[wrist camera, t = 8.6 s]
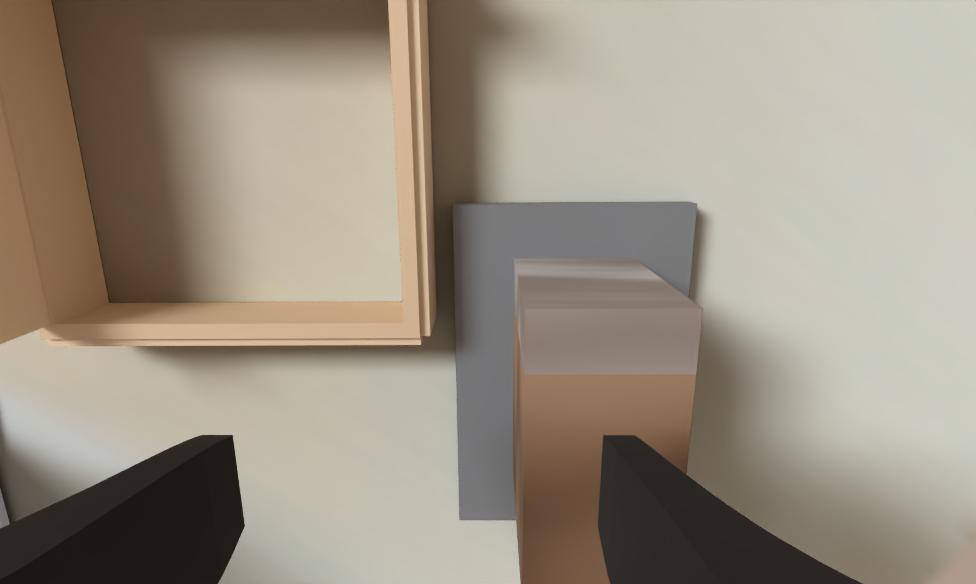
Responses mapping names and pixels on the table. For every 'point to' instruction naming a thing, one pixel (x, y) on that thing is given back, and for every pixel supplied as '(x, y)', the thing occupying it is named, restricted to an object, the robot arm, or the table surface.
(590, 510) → the walnut box
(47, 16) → the wooden drawer
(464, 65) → the table surface
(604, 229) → the slate mat
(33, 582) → the robot arm
